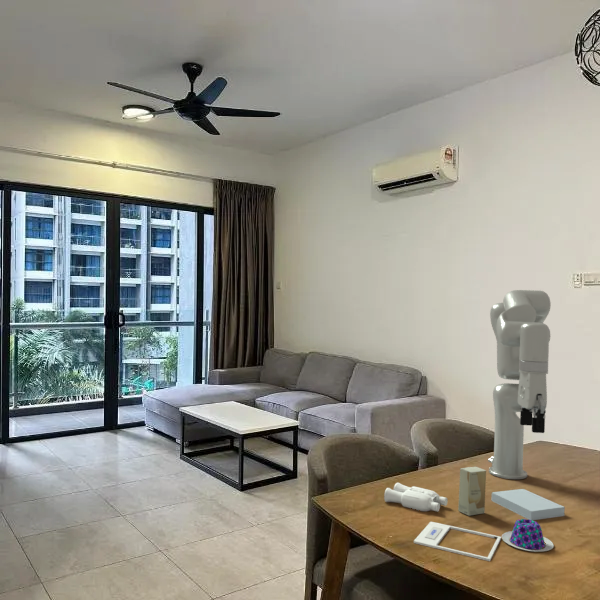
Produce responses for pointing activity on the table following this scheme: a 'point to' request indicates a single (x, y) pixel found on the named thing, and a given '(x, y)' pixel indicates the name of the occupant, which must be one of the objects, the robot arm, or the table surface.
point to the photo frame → (438, 531)
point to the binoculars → (415, 497)
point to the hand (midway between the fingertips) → (531, 428)
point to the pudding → (527, 536)
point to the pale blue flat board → (528, 504)
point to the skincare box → (472, 490)
